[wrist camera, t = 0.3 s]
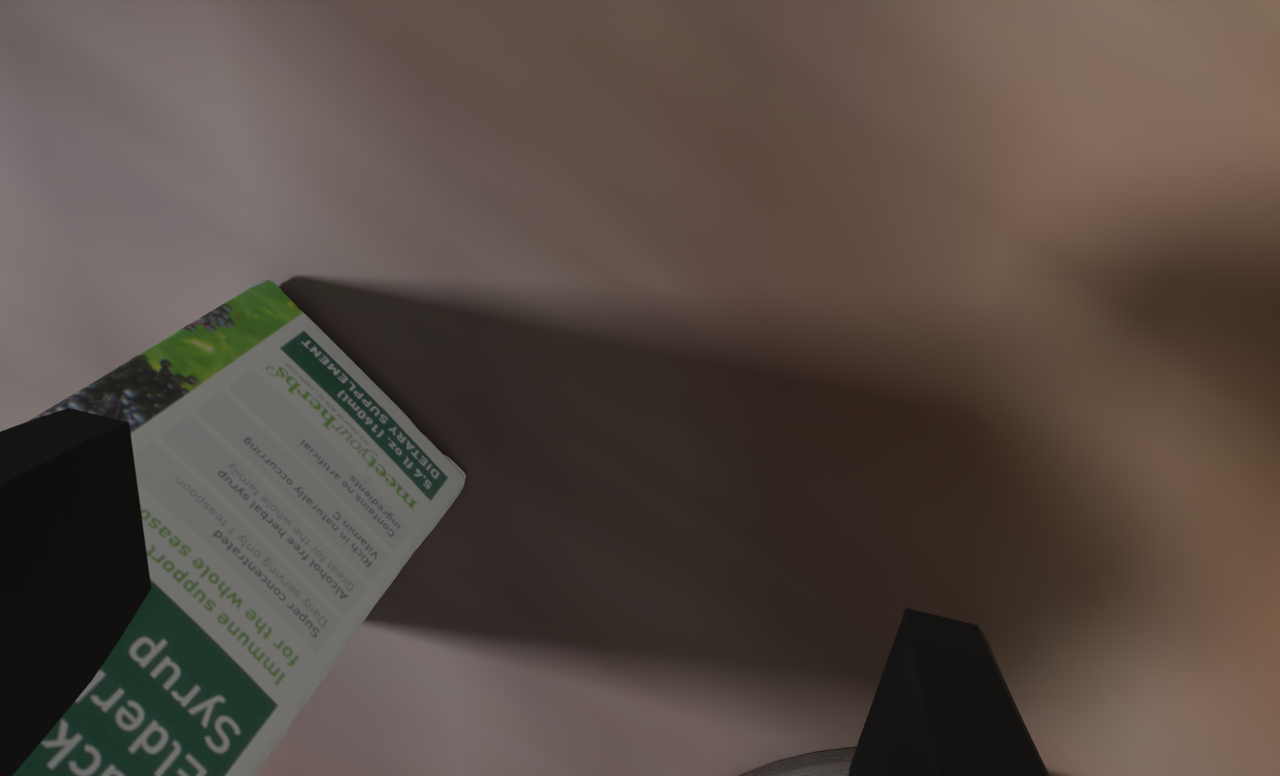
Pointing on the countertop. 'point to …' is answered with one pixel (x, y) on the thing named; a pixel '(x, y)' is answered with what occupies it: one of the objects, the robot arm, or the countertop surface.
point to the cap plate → (810, 765)
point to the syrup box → (245, 538)
